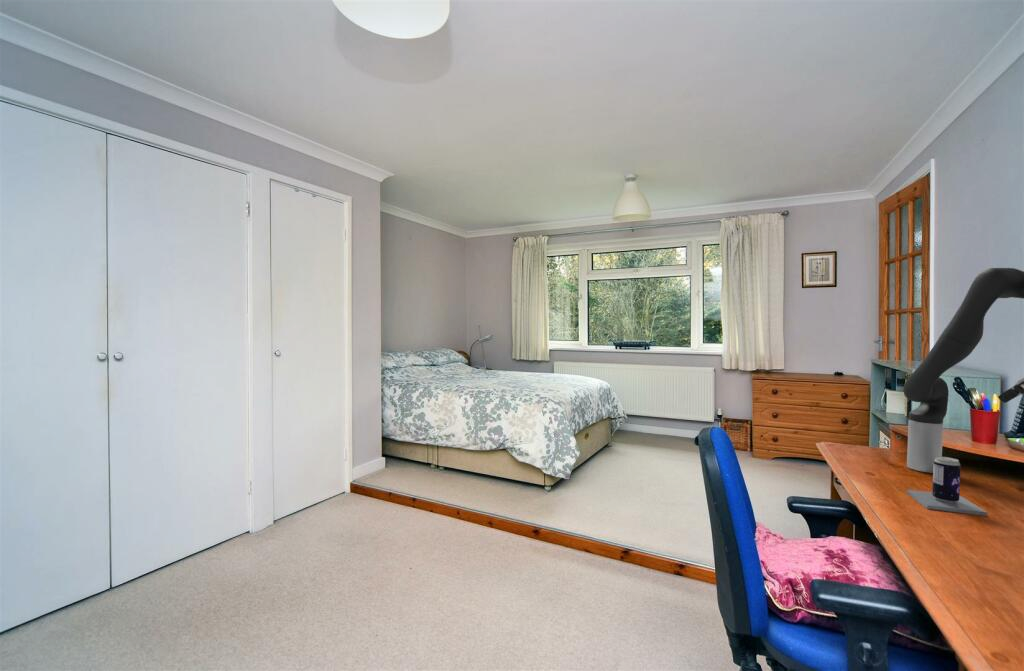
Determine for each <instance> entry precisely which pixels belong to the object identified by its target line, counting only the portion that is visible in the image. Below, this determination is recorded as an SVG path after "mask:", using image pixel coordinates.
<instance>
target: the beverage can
mask: <svg viewBox="0 0 1024 671" xmlns="http://www.w3.org/2000/svg"><path fill="white" fill-rule="evenodd" d="M961 468H962V466H961V463H960V461H959V459H957V458H953V457H949V456H942V457H941V456H938V457H936V459H935V460H934V467H933V474H932V492H931V493H932V495H933V496H934V497H935V498H936V499H937V500H939V501H942V502H947V503H955V502H957V501H959V496H961V495H960V493H961V491H960V490H961V489H960V488H961V471H962V470H961Z"/></svg>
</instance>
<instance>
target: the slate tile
mask: <svg viewBox="0 0 1024 671" xmlns="http://www.w3.org/2000/svg"><path fill="white" fill-rule="evenodd" d="M906 494H907V495H908V494H909V495H908V496H910V497H912V498H913V499H914V500H916V501H917V502H918V504H920V505H922V506H923V507H924V508H925V509H928V510H935V511H943V512H952V513H959V514H969V515H976V516H984V517H987V516H988V512H987V511H986V510H984V509H983V508H981V507H979V506H978V505H977V504H975V503H973V502H971V501H970V500H968V499H967V498H965V497H964V496H961V495H959V501H957V502H955V503H947V502H942V501H939V500H937V499H936V498H935V497H934V496H933V495H932V492H931V491H923V490H922V491H921V490H920V491H919V490H913V489H912V490H911V489H906Z"/></svg>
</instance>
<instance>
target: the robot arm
mask: <svg viewBox="0 0 1024 671" xmlns="http://www.w3.org/2000/svg"><path fill="white" fill-rule="evenodd" d="M1009 298H1014V299H1016V298H1017V299H1024V271H1023V270H1021V269H1018V268H1015V267H1014V268H1013V267H990V268H986V269H984V270H982V271H981V272H979V273H978V274H977V276H975V278H974V279H973V281H972V283H971V285H970V287H969V289H968V291H967V292H966V294H965V297H964V299H963V301H962V302H961V304H960V306H959V307H958V309H957V310H956V312H955V314H954V315H953V317H952V318H951V320H950V321H949V322H948V324H947V325H946V326H945V328H944V329H943V331H942V333H941V334H940V335H939V337H938V339H937V340H936V342H935V344H934V345H933V347H931V349H930V351H929V352H928V353H927V355H926V356H925V358H924V359H923V361H922V362H920V364H919V365H918V366H917V368H916V369H914V371H913V372H912V373H911V375H909V376H908V377H907V379H906V381H905V383H904V385H903V393H904V397H906V399H907V400H909V401H911V402H914V403H919V405H918V407H916V408H915V409H913V410H911V411H909V413H908V423H907V424H908V426H907V427H908V429H907V430H908V431H907V452H906V467H907V468H908V469H911V470H914V471H918V472H922V473H930V474H932V473H933V467H934V460H935V459H936V457H938V456H941V457H943V434H944V431H943V430H944V419H945V417H946V415H947V413H948V406H949V405H948V403H949V392H950V391H949V386H948V384H947V382H946V381H945V379H943V378H942V377H941V376H942V375H943V374H944V373H945V372H946V371H948V370H950V369H951V368H953V367H954V366H956V365H957V364H959V363H961V362H963V361H964V360H965V359H967V357H969V356H970V355H971V354H972V352H973V351H974V350H975V349H976V347H977V346H978V344H979V343H980V342H981V340H982V338H983V335H984V326H985V325H984V322H985V317H986V315H987V313H988V311H989V310H990V308H991V307H992V306H993V305H994V303H995V302H996V301H997V300H998V299H1009ZM1022 395H1024V377H1023V378H1021V379H1019V380H1018V381H1017V382H1016V383H1015V384H1014V385H1013V386H1012V387H1010V388H1009V389H1007V390H1005V391H1003V392H1002V393H1000V394H999V395H998V396H997V398H998V400H1000V401H1001V402H1002V403H1008V402H1010V401H1011V400H1014V399H1015V398H1017V397H1019V396H1022Z"/></svg>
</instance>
